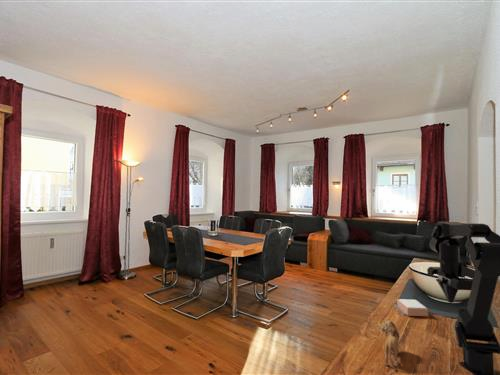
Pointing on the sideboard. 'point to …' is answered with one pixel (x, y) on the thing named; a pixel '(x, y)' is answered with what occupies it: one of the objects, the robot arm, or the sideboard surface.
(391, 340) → the dog figurine
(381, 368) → the sideboard surface
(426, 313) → the tile
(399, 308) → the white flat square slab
